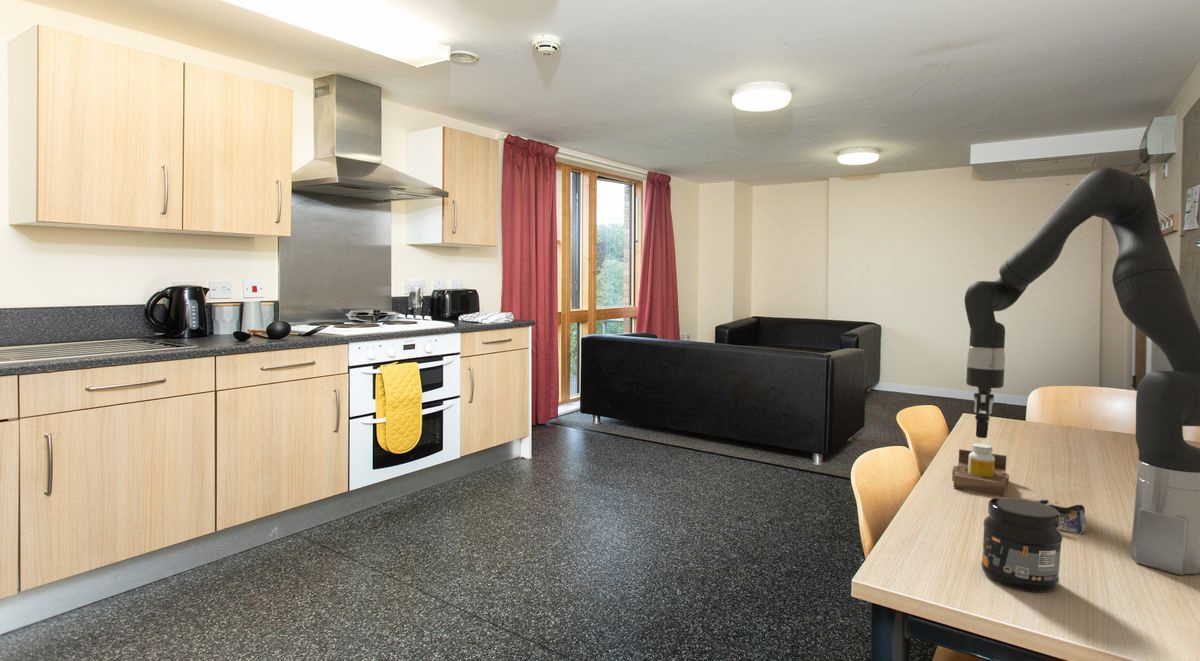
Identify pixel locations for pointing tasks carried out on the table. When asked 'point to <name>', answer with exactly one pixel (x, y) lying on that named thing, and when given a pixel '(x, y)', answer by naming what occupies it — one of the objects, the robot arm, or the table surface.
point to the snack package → (1070, 517)
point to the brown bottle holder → (981, 483)
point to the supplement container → (1022, 544)
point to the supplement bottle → (981, 460)
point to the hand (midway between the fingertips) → (981, 434)
